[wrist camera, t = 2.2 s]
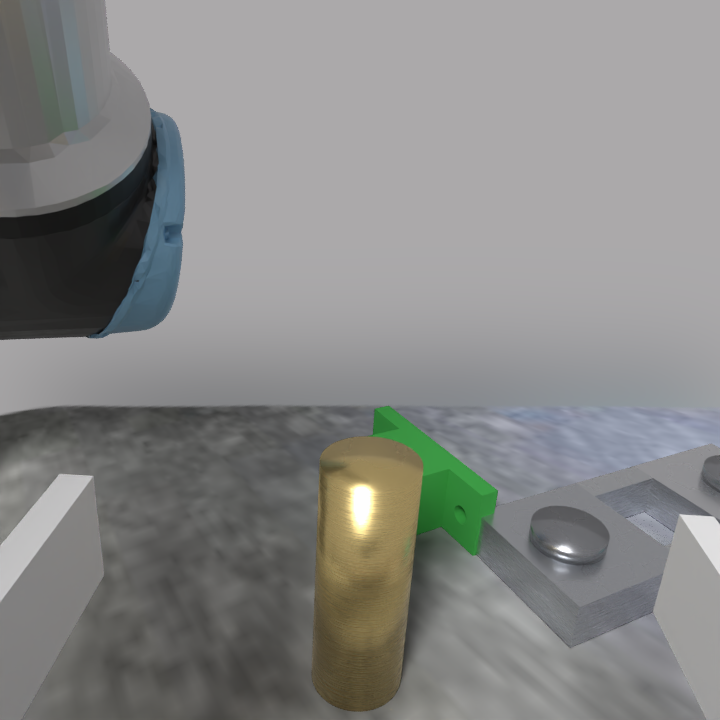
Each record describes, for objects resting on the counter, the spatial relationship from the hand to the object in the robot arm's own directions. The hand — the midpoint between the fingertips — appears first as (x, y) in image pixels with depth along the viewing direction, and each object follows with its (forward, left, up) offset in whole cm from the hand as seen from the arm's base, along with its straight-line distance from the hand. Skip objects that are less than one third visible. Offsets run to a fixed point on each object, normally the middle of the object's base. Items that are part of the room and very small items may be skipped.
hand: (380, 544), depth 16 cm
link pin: (-9, +5, -15) cm, 18 cm away
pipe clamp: (-19, +14, -16) cm, 28 cm away
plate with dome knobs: (-10, +25, -15) cm, 31 cm away
